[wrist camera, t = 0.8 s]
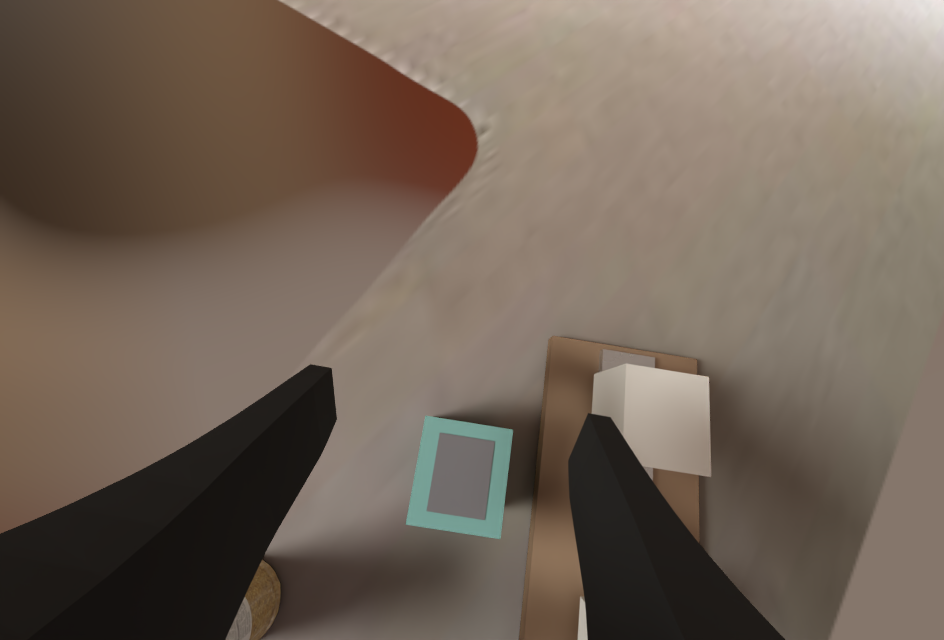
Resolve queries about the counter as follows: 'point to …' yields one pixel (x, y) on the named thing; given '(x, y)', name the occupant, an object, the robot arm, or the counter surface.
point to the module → (461, 477)
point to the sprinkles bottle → (257, 606)
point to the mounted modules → (656, 421)
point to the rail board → (551, 529)
